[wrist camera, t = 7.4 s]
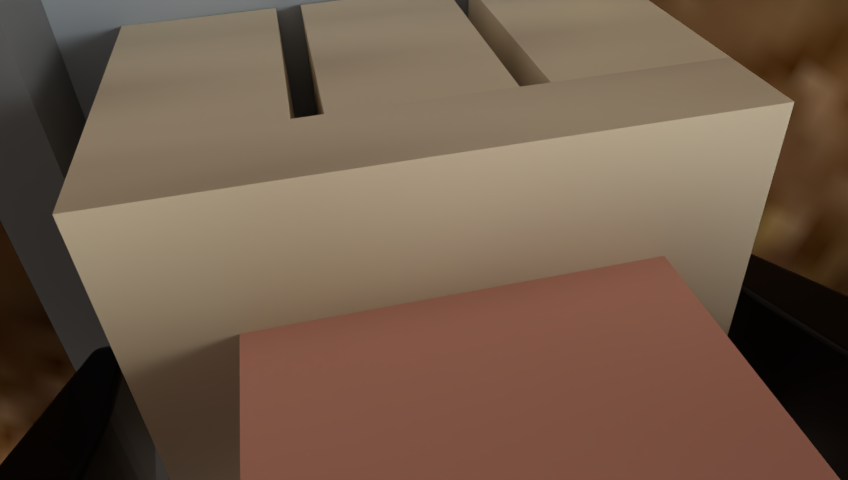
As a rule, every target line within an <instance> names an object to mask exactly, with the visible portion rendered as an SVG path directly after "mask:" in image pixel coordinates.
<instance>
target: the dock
mask: <svg viewBox="0 0 848 480" xmlns="http://www.w3.org/2000/svg"><path fill="white" fill-rule="evenodd" d="M329 1H337V0H0V221H1V223H2V225H3V227H4V229H5V231H6V233H7V235H8V237H9V239H10V241H11V243H12V245H13V247H14V249H15V251H16V253H17V255H18V257H19V259H20V261H21V263H22V265H23V267H24V269H25V271H26V273H27V275H28V277H29V279H30V281H31V283H32V285H33V287H34V289H35V291H36V293H37V295H38V297H39V299H40V301H41V303H42V305H43V307H44V309H45V311H46V313H47V315H48V317H49V319H50V321H51V323H52V325H53V327H54V329H55V331H56V333H57V335H58V337H59V339H60V341H61V343H62V345H63V347H64V349H65V351H66V353H67V355H68V357H69V359H70V361H71V363H72V365H73V368H74V370H75V372H77V370H78V369H79V368H80V367H81V365H82V364H83V363H84V362H85V360H86V359H87V358H88V357H89V356H90V354H91V353H92V352H93V351H95V350H96V349H98V348H101V347H106V346H110V343H109V341H108V339H107V337H106V334H105V332H104V330H103V328H102V325H101V323H100V321H99V319H98V316H97V314H96V312H95V310H94V307H93V305H92V303H91V301H90V298H89V296H88V294H87V292H86V289H85V287H84V285H83V283H82V280H81V278H80V276H79V274H78V271H77V269H76V267H75V265H74V262H73V260H72V258H71V256H70V253H69V251H68V249H67V247H66V244H65V242H64V240H63V238H62V235H61V233H60V231H59V229H58V226H57V224H56V222H55V220H54V217H53V215H52V214H53V211H54V208H55V206H56V203H57V200H58V197H59V195H60V192H61V189H62V187H63V184H64V181H65V178H66V176H67V173H68V170H69V168H70V165H71V162H72V159H73V157H74V154H75V151H76V149H77V146H78V143H79V140H80V138H81V135H82V132H83V130H84V127H85V124H86V121H87V119H88V116H89V113H90V111H91V108H92V105H93V102H94V100H95V97H96V94H97V92H98V89H99V86H100V83H101V81H102V78H103V75H104V73H105V70H106V67H107V64H108V62H109V59H110V56H111V54H112V51H113V48H114V45H115V43H116V40H117V37H118V35H119V32H120V29H121V26H128V25H136V24H144V23H153V22H161V21H170V20H178V19H186V18H195V17H203V16H212V15H220V14H228V13H237V12H245V11H254V10H262V9H270V8H276V13H277V18H278V24H279V30H280V35H281V41H282V47H283V52H284V58H285V64H286V69H287V75H288V81H289V86H290V92H291V98H292V103H293V109H294V115H295V118H300V117H307V116H314V115H317V108H316V102H315V95H314V89H313V82H312V76H311V70H310V63H309V57H308V50H307V44H306V37H305V31H304V24H303V18H302V11H301V5H304V4H312V3H321V2H329ZM454 1H455V2H456V3H457V5H458V6H459V7H460V8H461V10H462V11H463V12H464V14H465V15H466V16H467V18H468V0H454ZM155 457H156V480H170V479H169V476H168V474H167V472H166V470H165V467H164V465H163V463H162V461H161V458H160V456H159V454H158V452H157V449H156V447H155Z"/></svg>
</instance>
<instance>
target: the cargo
mask: <svg viewBox="0 0 848 480" xmlns="http://www.w3.org/2000/svg"><path fill="white" fill-rule="evenodd" d="M240 480H840V478H839V477H838V476H837V475H836V473H835V472H834V471H833V470H832V468H831V467H830V466H829V465H828V463H827V462H826V461H825V459H824V458H823V457H822V456H821V454H820V453H819V452H818V451H817V449H816V448H815V447H814V445H813V444H812V443H811V442H810V440H809V439H808V438H807V437H806V435H805V434H804V433H803V431H802V430H801V429H800V428H799V426H798V425H797V424H796V423H795V421H794V420H793V419H792V418H791V416H790V415H789V414H788V412H787V411H786V410H785V409H784V407H783V406H782V405H781V404H780V402H779V401H778V400H777V398H776V397H775V396H774V395H773V393H772V392H771V391H770V390H769V388H768V387H767V386H766V385H765V383H764V382H763V381H762V379H761V378H760V377H759V376H758V374H757V373H756V372H755V371H754V369H753V368H752V367H751V365H750V364H749V363H748V362H747V360H746V359H745V358H744V357H743V355H742V354H741V353H740V352H739V350H738V349H737V348H736V346H735V345H734V344H733V343H732V341H731V340H730V339H729V338H728V336H727V335H726V334H725V332H724V331H723V330H722V329H721V327H720V326H719V325H718V324H717V322H716V321H715V320H714V319H713V317H712V316H711V315H710V313H709V312H708V311H707V310H706V308H705V307H704V306H703V305H702V303H701V302H700V301H699V299H698V298H697V297H696V296H695V294H694V293H693V292H692V291H691V289H690V288H689V287H688V286H687V284H686V283H685V282H684V280H683V279H682V278H681V277H680V275H679V274H678V273H677V272H676V270H675V269H674V268H673V266H672V265H671V264H670V263H669V261H668V260H667V259H666V258H665V256H661V257H655V258H650V259H644V260H639V261H633V262H628V263H623V264H617V265H612V266H606V267H601V268H595V269H590V270H585V271H579V272H574V273H568V274H563V275H557V276H552V277H546V278H541V279H536V280H530V281H525V282H519V283H514V284H508V285H503V286H497V287H492V288H487V289H481V290H476V291H470V292H465V293H459V294H454V295H448V296H443V297H438V298H432V299H427V300H421V301H416V302H410V303H405V304H399V305H394V306H389V307H383V308H378V309H372V310H367V311H361V312H356V313H350V314H345V315H340V316H334V317H329V318H323V319H318V320H312V321H307V322H301V323H296V324H291V325H285V326H280V327H274V328H269V329H263V330H258V331H253V332H247V333H242V334H240Z"/></svg>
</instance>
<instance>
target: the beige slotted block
mask: <svg viewBox="0 0 848 480" xmlns="http://www.w3.org/2000/svg"><path fill="white" fill-rule="evenodd" d="M301 11H302V18H303V24H304V31H305V37H306V44H307V50H308V57H309V63H310V70H311V76H312V82H313V89H314V95H315V102H316V108H317V115H314V116H307V117H300V118H295V115H294V109H293V103H292V98H291V92H290V86H289V81H288V75H287V69H286V64H285V58H284V52H283V47H282V41H281V35H280V30H279V24H278V18H277V13H276V8H270V9H262V10H254V11H245V12H237V13H228V14H220V15H212V16H203V17H195V18H186V19H178V20H170V21H161V22H153V23H144V24H136V25H128V26H121V29H120V32H119V35H118V37H117V40H116V43H115V45H114V48H113V51H112V54H111V56H110V59H109V62H108V64H107V67H106V70H105V73H104V75H103V78H102V81H101V83H100V86H99V89H98V92H97V94H96V97H95V100H94V102H93V105H92V108H91V111H90V113H89V116H88V119H87V121H86V124H85V127H84V130H83V132H82V135H81V138H80V140H79V143H78V146H77V149H76V151H75V154H74V157H73V159H72V162H71V165H70V168H69V170H68V173H67V176H66V178H65V181H64V184H63V187H62V189H61V192H60V195H59V197H58V200H57V203H56V206H55V208H54V211H53V214H52V215H53V217H54V220H55V222H56V224H57V226H58V229H59V231H60V233H61V235H62V238H63V240H64V242H65V244H66V247H67V249H68V251H69V253H70V256H71V258H72V260H73V262H74V265H75V267H76V269H77V271H78V274H79V276H80V278H81V280H82V283H83V285H84V287H85V289H86V292H87V294H88V296H89V298H90V301H91V303H92V305H93V307H94V310H95V312H96V314H97V316H98V319H99V321H100V323H101V325H102V328H103V330H104V332H105V334H106V337H107V339H108V341H109V343H110V346H111V348H112V350H113V353H114V355H115V357H116V359H117V362H118V364H119V366H120V368H121V371H122V373H123V375H124V377H125V380H126V382H127V384H128V386H129V389H130V391H131V393H132V395H133V398H134V400H135V402H136V404H137V407H138V409H139V411H140V413H141V416H142V418H143V420H144V422H145V425H146V427H147V429H148V431H149V434H150V436H151V438H152V440H153V443H154V445H155V447H156V449H157V452H158V454H159V456H160V458H161V461H162V463H163V465H164V467H165V470H166V472H167V474H168V476H169V479H170V480H240V334H242V333H247V332H253V331H258V330H263V329H269V328H274V327H280V326H285V325H291V324H296V323H301V322H307V321H312V320H318V319H323V318H329V317H334V316H340V315H345V314H350V313H356V312H361V311H367V310H372V309H378V308H383V307H389V306H394V305H399V304H405V303H410V302H416V301H421V300H427V299H432V298H438V297H443V296H448V295H454V294H459V293H465V292H470V291H476V290H481V289H487V288H492V287H497V286H503V285H508V284H514V283H519V282H525V281H530V280H536V279H541V278H546V277H552V276H557V275H563V274H568V273H574V272H579V271H585V270H590V269H595V268H601V267H606V266H612V265H617V264H623V263H628V262H633V261H639V260H644V259H650V258H655V257H661V256H665V258H666V259H667V260H668V261H669V263H670V264H671V265H672V266H673V268H674V269H675V270H676V272H677V273H678V274H679V275H680V277H681V278H682V279H683V280H684V282H685V283H686V284H687V286H688V287H689V288H690V289H691V291H692V292H693V293H694V294H695V296H696V297H697V298H698V299H699V301H700V302H701V303H702V305H703V306H704V307H705V308H706V310H707V311H708V312H709V313H710V315H711V316H712V317H713V319H714V320H715V321H716V322H717V324H718V325H719V326H720V327H721V329H722V330H723V331H724V332H725V334H726V335H728V332H729V328H730V325H731V321H732V318H733V314H734V311H735V307H736V304H737V300H738V297H739V294H740V290H741V287H742V283H743V280H744V276H745V273H746V269H747V266H748V262H749V259H750V255H751V252H752V248H753V245H754V241H755V238H756V234H757V231H758V227H759V224H760V220H761V217H762V213H763V210H764V206H765V203H766V199H767V196H768V192H769V189H770V185H771V182H772V178H773V175H774V171H775V168H776V164H777V161H778V157H779V154H780V150H781V147H782V143H783V140H784V136H785V133H786V129H787V126H788V122H789V119H790V115H791V112H792V108H793V105H794V101H792V100H791V99H790V98H788V97H787V96H785V95H784V94H782V93H781V92H779V91H778V90H777V89H775V88H774V87H772V86H771V85H769V84H768V83H767V82H765V81H764V80H762V79H761V78H759V77H758V76H757V75H755V74H754V73H752V72H751V71H749V70H748V69H746V68H745V67H744V66H742V65H741V64H739V63H738V62H736V61H735V60H734V59H732V58H731V57H729V56H728V55H726V54H725V53H724V52H722V51H721V50H719V49H718V48H716V47H715V46H713V45H712V44H711V43H709V42H708V41H706V40H705V39H703V38H702V37H701V36H699V35H698V34H696V33H695V32H693V31H692V30H691V29H689V28H688V27H686V26H685V25H683V24H682V23H680V22H679V21H678V20H676V19H675V18H673V17H672V16H670V15H669V14H668V13H666V12H665V11H663V10H662V9H660V8H659V7H657V6H656V5H655V4H653V3H652V2H650V1H649V0H468V18H467V16H466V15H465V14H464V12H463V11H462V10H461V8H460V7H459V6H458V5H457V3H456V2H455V1H454V0H337V1H329V2H321V3H312V4H304V5H301Z"/></svg>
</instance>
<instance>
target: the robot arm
mask: <svg viewBox="0 0 848 480" xmlns="http://www.w3.org/2000/svg"><path fill="white" fill-rule="evenodd" d="M727 336H728V338H729V339H730V340H731V341H732V343H733V344H734V345H735V346H736V348H737V349H738V350H739V352H740V353H741V354H742V355H743V357H744V358H745V359H746V360H747V362H748V363H749V364H750V365H751V367H752V368H753V369H754V371H755V372H756V373H757V374H758V376H759V377H760V378H761V379H762V381H763V382H764V383H765V385H766V386H767V387H768V388H769V390H770V391H771V392H772V393H773V395H774V396H775V397H776V398H777V400H778V401H779V402H780V404H781V405H782V406H783V407H784V409H785V410H786V411H787V412H788V414H789V415H790V416H791V418H792V419H793V420H794V421H795V423H796V424H797V425H798V426H799V428H800V429H801V430H802V431H803V433H804V434H805V435H806V437H807V438H808V439H809V440H810V442H811V443H812V444H813V445H814V447H815V448H816V449H817V451H818V452H819V453H820V454H821V456H822V457H823V458H824V459H825V461H826V462H827V463H828V465H829V466H830V467H831V468H832V470H833V471H834V472H835V473H836V475H837V476H838V477H839V478H840V480H848V296H846V295H844V294H841V293H839V292H837V291H834V290H832V289H830V288H828V287H825V286H823V285H821V284H819V283H816V282H814V281H812V280H810V279H807V278H805V277H803V276H800V275H798V274H796V273H794V272H791V271H789V270H787V269H785V268H782V267H780V266H778V265H775V264H773V263H771V262H769V261H766V260H764V259H762V258H760V257H757V256H755V255H753V254H751V255H750V259H749V262H748V266H747V269H746V273H745V276H744V280H743V283H742V287H741V290H740V294H739V297H738V300H737V304H736V307H735V311H734V314H733V318H732V321H731V325H730V328H729V332H728V335H727ZM0 480H156V457H155V445H154V443H153V440H152V438H151V436H150V434H149V431H148V429H147V427H146V425H145V422H144V420H143V418H142V416H141V413H140V411H139V409H138V407H137V404H136V402H135V400H134V398H133V395H132V393H131V391H130V389H129V386H128V384H127V382H126V380H125V377H124V375H123V373H122V371H121V368H120V366H119V364H118V362H117V359H116V357H115V355H114V353H113V350H112V348H111V346H106V347H101V348H98V349H96V350H95V351H93V352H92V353H91V354H90V356H89V357H88V358H87V359H86V360H85V362H84V363H83V364H82V365H81V367H80V368H79V369H78V370H77V372H76V373H75V374H74V375H73V376H72V378H71V379H70V380H69V381H68V383H67V384H66V385H65V386H64V387H63V389H62V390H61V391H60V392H59V394H58V395H57V396H56V397H55V399H54V400H53V401H52V402H51V403H50V405H49V406H48V407H47V408H46V410H45V411H44V412H43V413H42V414H41V416H40V417H39V418H38V419H37V421H36V422H35V423H34V424H33V426H32V427H31V428H30V429H29V430H28V432H27V433H26V434H25V435H24V437H23V438H22V439H21V440H20V441H19V443H18V444H17V445H16V446H15V448H14V449H13V450H12V451H11V453H10V454H9V455H8V456H7V457H6V459H5V460H4V461H3V462H2V464H1V465H0Z"/></svg>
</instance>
